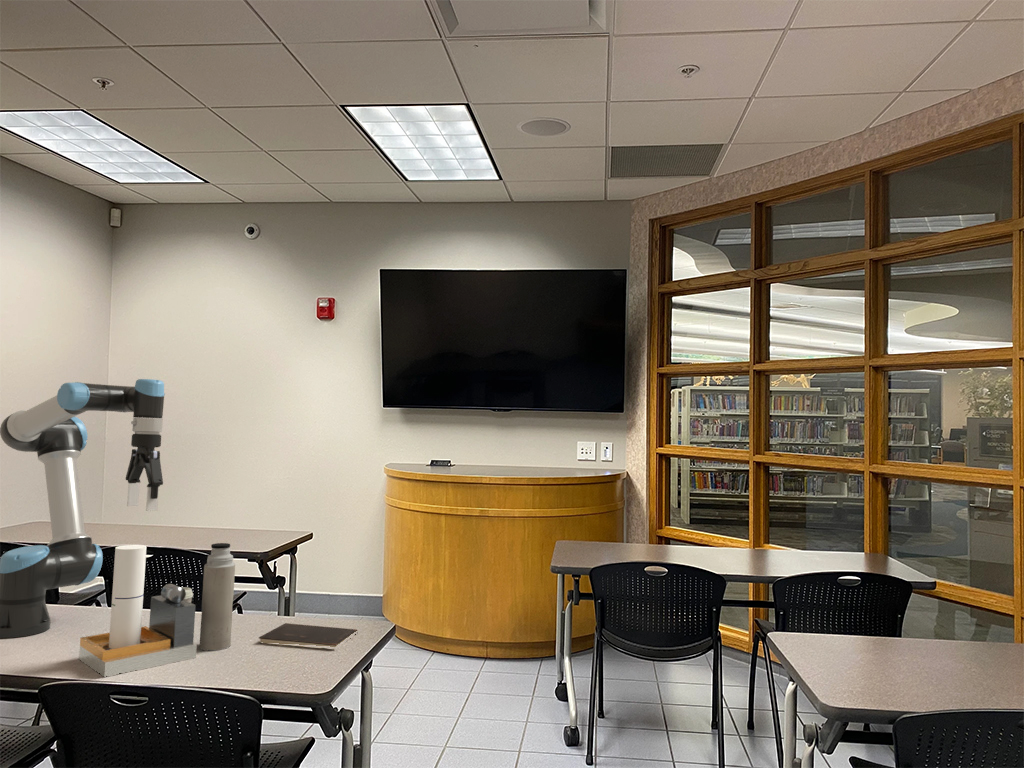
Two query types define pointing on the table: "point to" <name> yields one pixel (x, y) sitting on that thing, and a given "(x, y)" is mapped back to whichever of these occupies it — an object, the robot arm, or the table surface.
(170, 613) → the grey stand with tray
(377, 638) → the table surface
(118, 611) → the cylindrical container
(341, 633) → the hardcover book
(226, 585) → the thermos bottle
